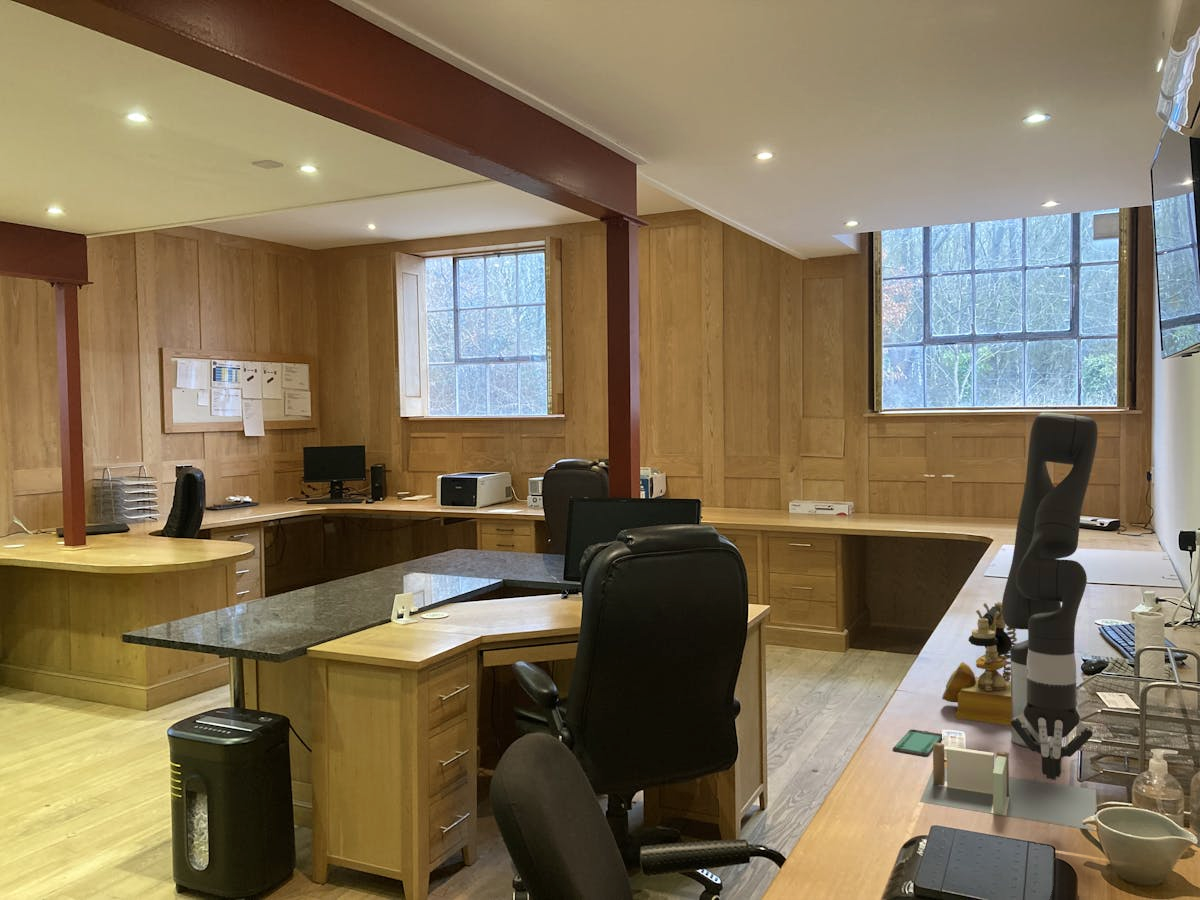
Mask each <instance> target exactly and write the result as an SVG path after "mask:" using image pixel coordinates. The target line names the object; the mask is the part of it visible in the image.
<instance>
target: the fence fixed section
mask: <svg viewBox="0 0 1200 900" xmlns="http://www.w3.org/2000/svg"><path fill="white" fill-rule="evenodd" d="M1009 755H1010V754H1009V752H1007V751H1002V750H999V751H996V757H997V756H1002V757H1006V766H1007V795H1009V777H1010V776H1009V774H1010V773H1009V771H1010V769H1009V766H1010V764H1009V763H1010V761H1009ZM945 764H946V765H945ZM945 767H946V768H947V786H951V787H958V788H964V789H971V790H977V791H983V792H990V793H993V771H994V767H995V752H991V751H990V752H989V751H983V750H982V751H981V750H975V749H968V748H960V747H954V746H946V763H945V744H944V743H941V742H940V743H933V751H932V771H933V783H934V784H935V785H944V784H945Z"/></svg>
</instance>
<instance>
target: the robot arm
mask: <svg viewBox="0 0 1200 900" xmlns="http://www.w3.org/2000/svg"><path fill="white" fill-rule="evenodd" d="M1031 425H1032V426H1031V429H1030V434H1029V444H1028V452H1027V463H1026V464H1027V465H1026V467H1027V468H1026V475H1025V484H1024V490H1023V494H1022V500H1021V504H1020V508H1019V514H1018V519H1017V525H1016V532H1015V540H1014V549H1013V555H1012V560H1011V566H1010V568H1009V572H1008V576H1007V580H1006V583H1005V587H1004V592H1003V595H1002V600H1001V601H1002V602H1001V603H1002V616H1003V620H1004V622H1005V624H1006V627H1008V626H1009V627H1010V628H1014V629H1016V630H1027V639H1026V640H1024V641H1021V642H1017V643H1016V644H1015V645H1012V648H1011V653H1010V655H1011V658H1010V662H1011V664H1010V667H1011V670H1010V672H1011V675H1010V681H1011V726H1010V729H1011V730H1010V732H1011V733H1010V734H1011V735H1010V737H1011V738H1010V739H1011V741H1012V742H1013V743H1015V744H1017V745H1020V746H1023V747H1027V748H1029V750H1030V751H1031V752H1032V753H1038V754H1040V756H1041V772H1042V774H1043V775H1044V776H1045V777H1046V779H1049V780H1055V781H1056V780H1057V778H1060V777H1061V775H1062V759H1063V758H1065V757H1067V758H1070V757H1072V756H1074V754H1076V752H1077V751H1078V750H1079V749H1081V747H1082V746H1084V745H1085V744H1086V743H1087V741H1088V740H1090V739H1091V738H1092V736H1093V733H1094V728H1093V727H1092V726H1091V725H1086V724H1085V723H1084V722H1082V720H1081V719H1080V718H1081V717H1080V714H1079V712H1078V710H1077V662H1076V655H1075V630H1076V629H1075V628H1076V620H1077V615H1078V611H1079V608H1080V605H1081V602H1082V600H1083V599H1082V598H1083V596H1084V593H1085V590H1086V586H1087V581H1088V579H1087V578H1088V577H1087V573H1086V570H1085V568H1084V566H1083V565H1082V564H1081V563H1079V562H1078V561H1076V560H1073V559H1063V558H1067V557H1068V558H1069V557H1070V556H1072V555H1074V554H1075V552H1076V551H1077V549H1078V545H1079V535H1080V528H1081V527H1080V525H1081V516H1082V515H1081V514H1082V508H1083V504H1084V500H1085V496H1086V493H1087V489H1088V486H1089V482H1090V478H1091V473H1092V469H1093V465H1094V460H1095V456H1096V455H1095V454H1096V449H1097V444H1098V434H1099V433H1098V432H1099V431H1098V423H1097V422H1096V420H1095V419H1094V418H1092V417H1089V416H1084V415H1083V416H1082V415H1075V414H1068V413H1067V414H1066V413H1057V412H1040V413H1038V414H1037V415H1036V417H1034V419H1033V423H1032V424H1031ZM1048 462H1050V463H1056V464H1062V465H1063V464H1065V465H1072V468H1071V469H1070V472H1068V474H1067V475H1066V476H1065V477H1064V478H1063V479H1062V480H1061V481H1060V482H1059V483H1058V484H1056V486H1055V484H1054V483H1053V482H1052V479H1051V477H1050V475H1049V470H1048V467H1047V463H1048ZM1075 728H1076V731H1075V734H1076V736H1075V737H1074V738H1072V740H1071V741H1069V743H1067V744H1066V745H1065V746H1063V740H1064V738H1066V737H1067V736H1068V735H1070V733H1071V732H1073V730H1074V729H1075ZM1051 749H1052V752H1051Z"/></svg>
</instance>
